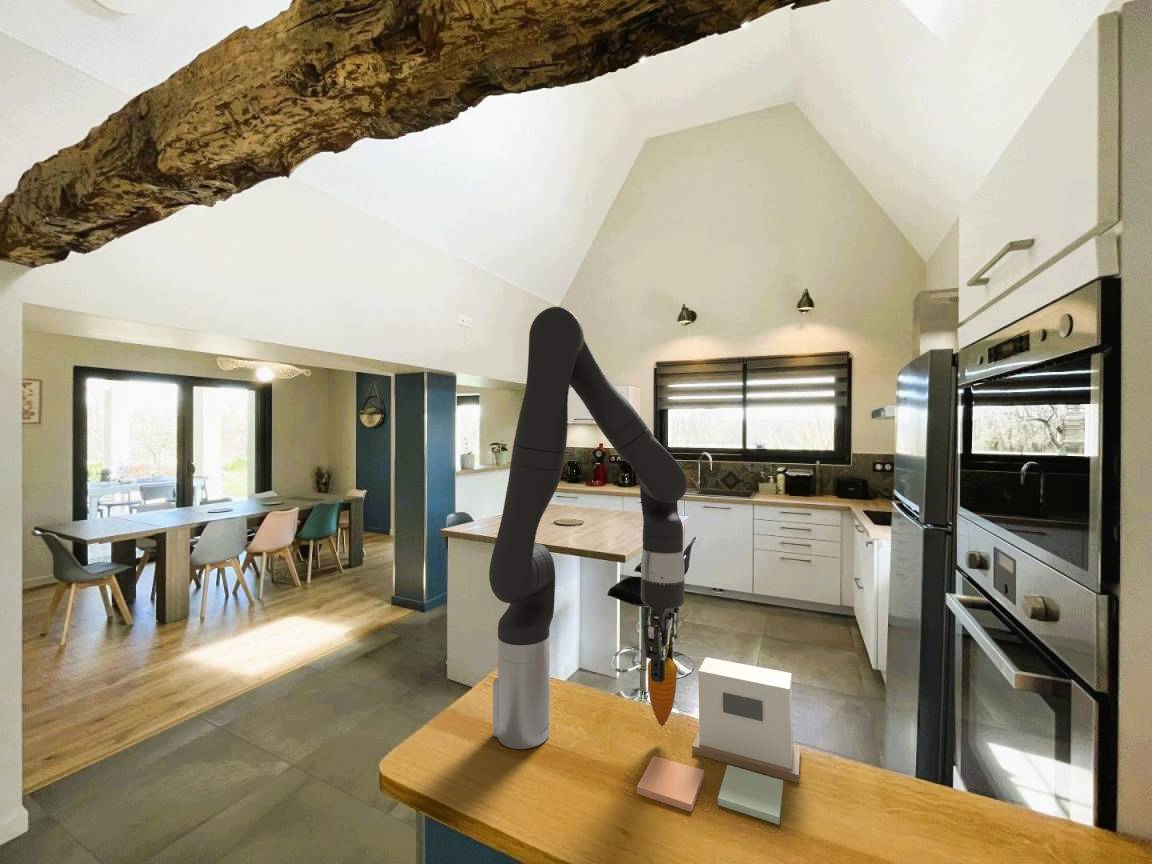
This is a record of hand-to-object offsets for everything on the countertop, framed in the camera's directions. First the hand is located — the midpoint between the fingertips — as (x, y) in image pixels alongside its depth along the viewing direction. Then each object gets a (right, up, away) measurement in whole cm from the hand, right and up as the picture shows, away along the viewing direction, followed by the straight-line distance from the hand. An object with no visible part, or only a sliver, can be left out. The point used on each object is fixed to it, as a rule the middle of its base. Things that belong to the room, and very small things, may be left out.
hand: (662, 673), depth 83 cm
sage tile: (+10, -11, -14) cm, 20 cm away
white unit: (+13, -11, -4) cm, 18 cm away
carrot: (0, -9, 0) cm, 9 cm away
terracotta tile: (-1, -11, -12) cm, 16 cm away
